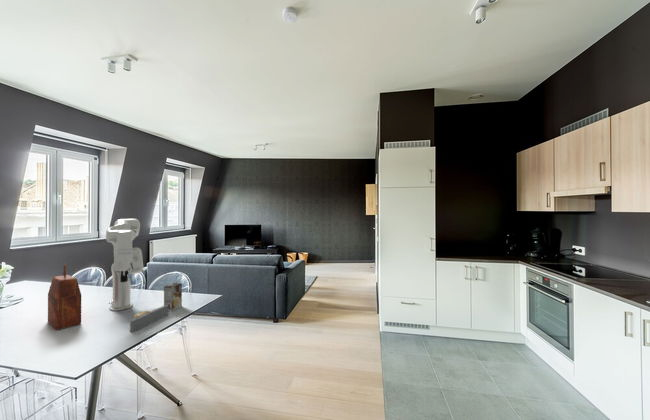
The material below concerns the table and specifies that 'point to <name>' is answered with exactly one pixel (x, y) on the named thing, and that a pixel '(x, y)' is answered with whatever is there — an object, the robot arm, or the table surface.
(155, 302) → the table surface
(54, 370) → the table surface
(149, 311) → the oak block
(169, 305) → the coffee box
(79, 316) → the wooden peaked block
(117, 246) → the robot arm
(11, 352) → the table surface
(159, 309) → the gray flat board
